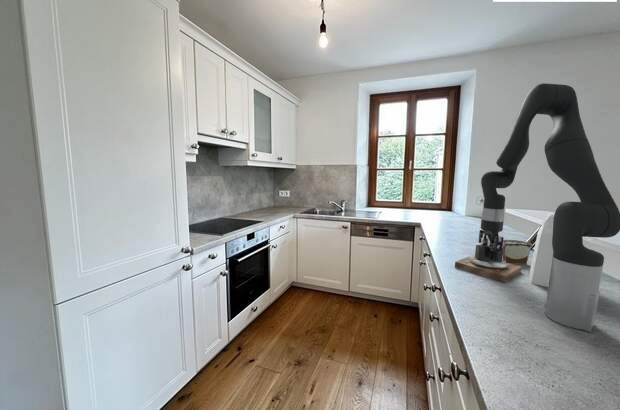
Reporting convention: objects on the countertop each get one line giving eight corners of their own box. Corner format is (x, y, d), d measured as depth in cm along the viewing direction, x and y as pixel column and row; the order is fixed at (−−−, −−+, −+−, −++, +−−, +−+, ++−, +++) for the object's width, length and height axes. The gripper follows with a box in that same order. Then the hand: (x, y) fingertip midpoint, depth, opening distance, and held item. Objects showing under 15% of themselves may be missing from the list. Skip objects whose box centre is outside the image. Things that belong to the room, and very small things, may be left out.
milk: (571, 282, 93) (581, 215, 89) (577, 293, 84) (589, 219, 81) (529, 274, 100) (537, 212, 97) (531, 283, 91) (540, 215, 88)
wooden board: (520, 272, 102) (521, 265, 101) (504, 282, 92) (505, 275, 91) (472, 259, 117) (473, 254, 116) (454, 267, 106) (455, 261, 106)
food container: (520, 260, 117) (522, 239, 116) (530, 264, 111) (533, 243, 110) (492, 258, 118) (495, 238, 117) (501, 263, 112) (504, 242, 111)
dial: (496, 259, 109) (497, 243, 108) (514, 270, 96) (516, 252, 95) (464, 257, 111) (465, 241, 110) (478, 267, 99) (480, 249, 98)
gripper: (513, 222, 94) (508, 263, 96) (492, 216, 108) (489, 252, 110) (491, 221, 95) (487, 262, 97) (474, 216, 109) (470, 251, 111)
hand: (488, 256), depth 103 cm, fingers open, 7 cm apart
